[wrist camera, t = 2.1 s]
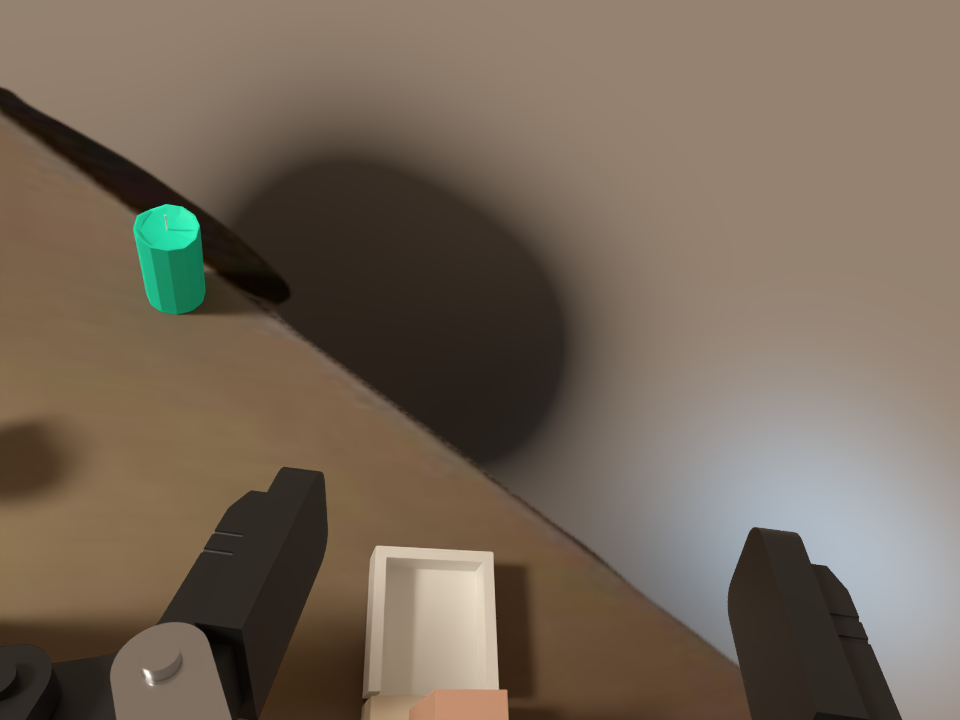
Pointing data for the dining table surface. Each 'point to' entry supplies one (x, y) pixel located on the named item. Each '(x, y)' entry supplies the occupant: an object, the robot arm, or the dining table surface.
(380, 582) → the tray
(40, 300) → the dining table surface
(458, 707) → the terracotta block
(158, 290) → the candle
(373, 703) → the cream block
